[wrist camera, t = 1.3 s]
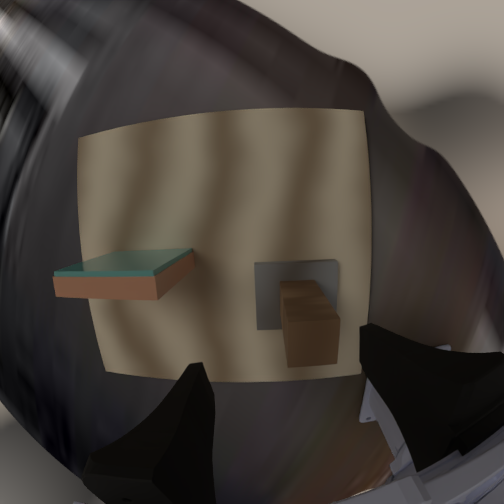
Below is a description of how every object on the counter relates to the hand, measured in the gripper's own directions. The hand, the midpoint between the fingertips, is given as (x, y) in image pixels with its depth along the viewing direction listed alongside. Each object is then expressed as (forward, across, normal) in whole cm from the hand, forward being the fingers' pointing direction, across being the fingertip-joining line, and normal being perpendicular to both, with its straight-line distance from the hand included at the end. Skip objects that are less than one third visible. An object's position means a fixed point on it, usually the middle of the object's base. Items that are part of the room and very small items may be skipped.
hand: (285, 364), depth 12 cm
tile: (+11, +8, -3) cm, 14 cm away
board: (+11, +3, -3) cm, 12 cm away
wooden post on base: (+9, -2, +1) cm, 10 cm away
